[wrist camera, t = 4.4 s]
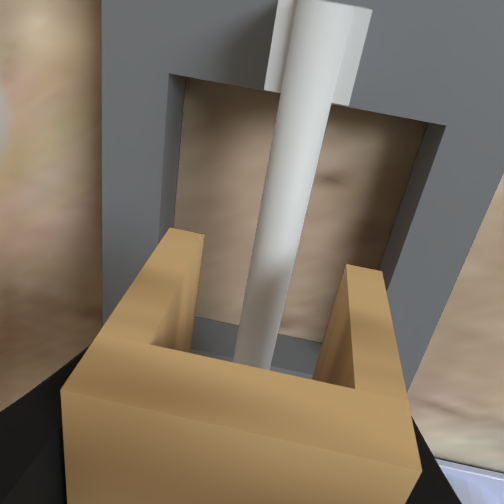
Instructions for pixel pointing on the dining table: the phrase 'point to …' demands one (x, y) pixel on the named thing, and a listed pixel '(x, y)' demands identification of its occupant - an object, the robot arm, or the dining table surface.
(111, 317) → the ochre u-shaped block
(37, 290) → the dining table surface
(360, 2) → the grey slotted base plate
